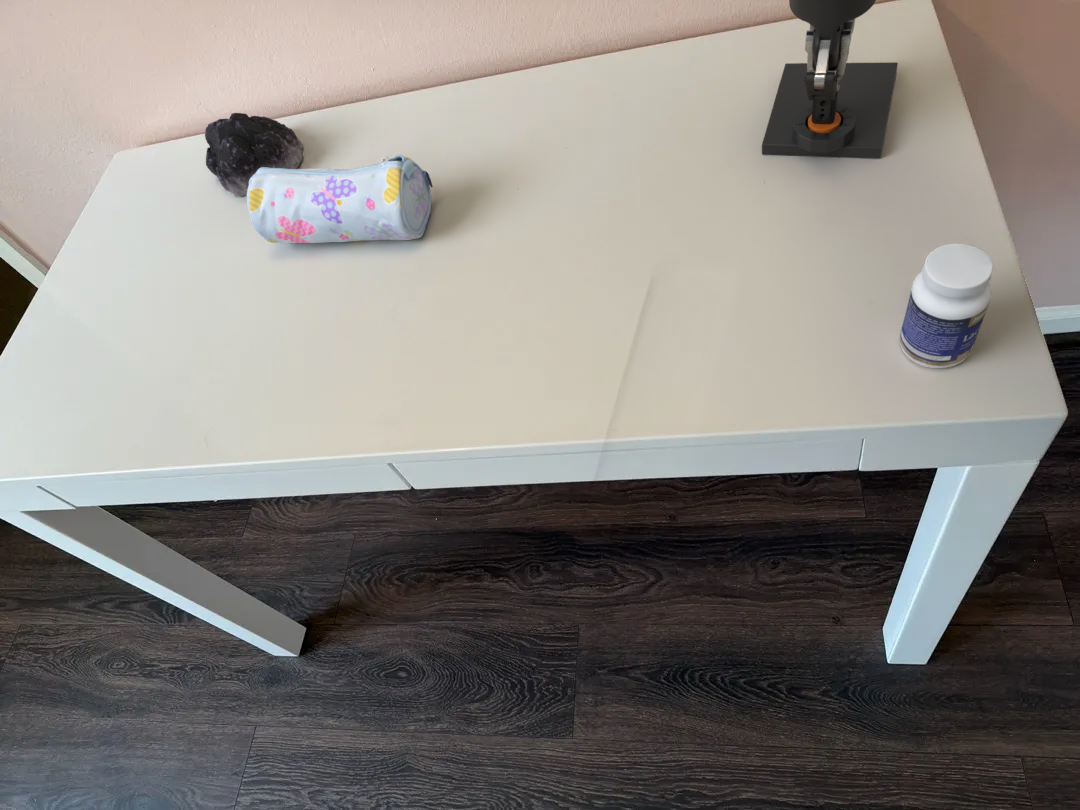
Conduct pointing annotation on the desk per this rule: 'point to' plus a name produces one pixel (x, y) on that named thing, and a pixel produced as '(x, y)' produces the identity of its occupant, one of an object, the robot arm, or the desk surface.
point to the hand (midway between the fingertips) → (823, 119)
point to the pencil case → (341, 203)
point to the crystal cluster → (249, 149)
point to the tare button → (824, 125)
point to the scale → (857, 106)
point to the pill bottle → (947, 306)
